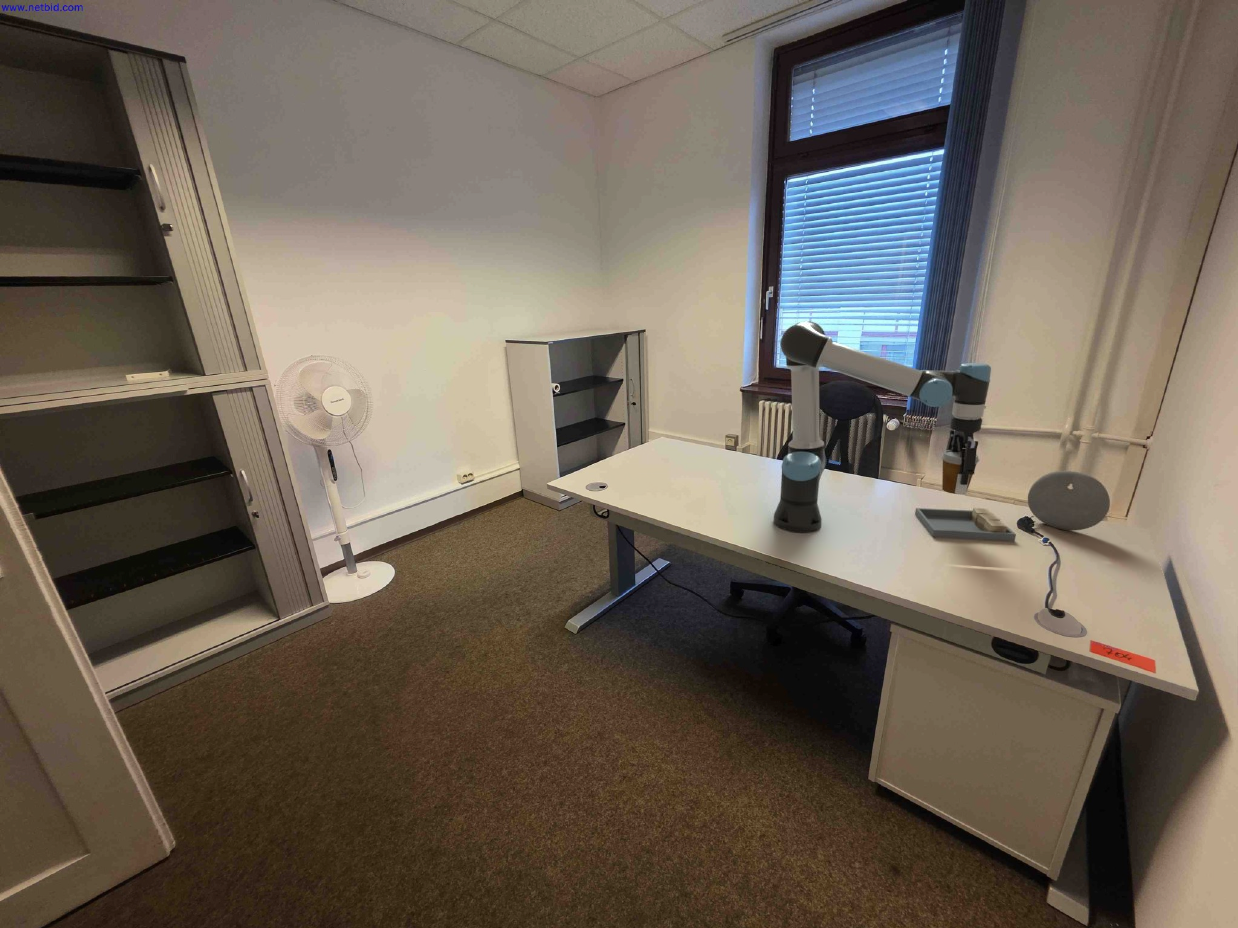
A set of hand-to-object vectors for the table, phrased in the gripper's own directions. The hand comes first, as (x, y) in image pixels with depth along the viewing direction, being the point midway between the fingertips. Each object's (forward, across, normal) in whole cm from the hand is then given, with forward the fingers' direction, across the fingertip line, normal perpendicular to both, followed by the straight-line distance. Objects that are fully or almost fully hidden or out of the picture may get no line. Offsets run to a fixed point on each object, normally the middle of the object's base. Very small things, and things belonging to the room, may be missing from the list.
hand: (954, 488), depth 151 cm
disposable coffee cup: (+1, 0, 0) cm, 1 cm away
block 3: (+13, -4, -11) cm, 18 cm away
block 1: (+13, +5, -11) cm, 18 cm away
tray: (+14, 0, -4) cm, 14 cm away
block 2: (+13, 0, -11) cm, 17 cm away
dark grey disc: (+14, +4, -32) cm, 35 cm away
